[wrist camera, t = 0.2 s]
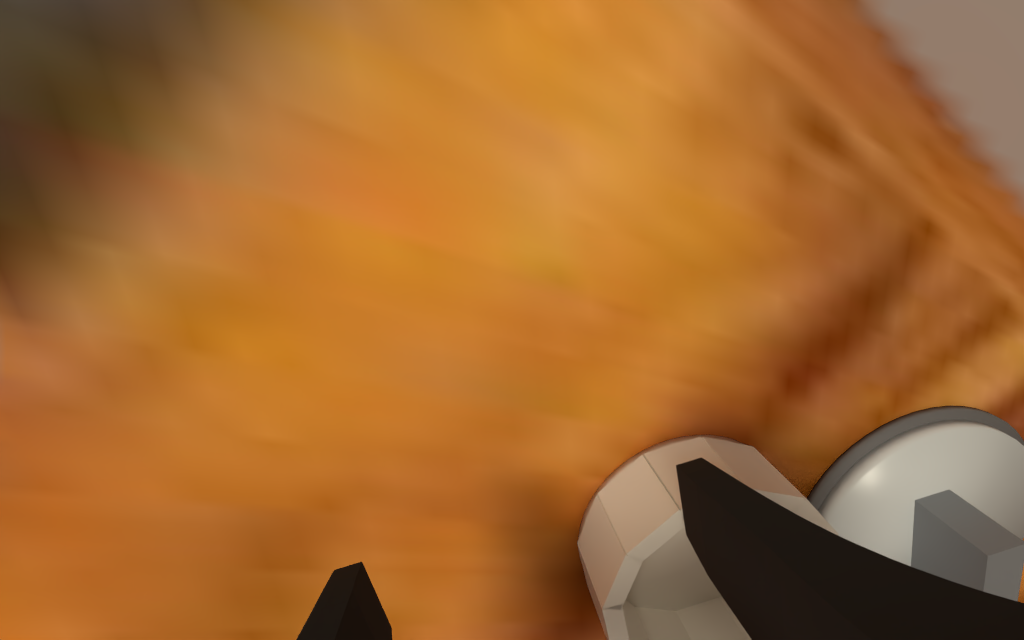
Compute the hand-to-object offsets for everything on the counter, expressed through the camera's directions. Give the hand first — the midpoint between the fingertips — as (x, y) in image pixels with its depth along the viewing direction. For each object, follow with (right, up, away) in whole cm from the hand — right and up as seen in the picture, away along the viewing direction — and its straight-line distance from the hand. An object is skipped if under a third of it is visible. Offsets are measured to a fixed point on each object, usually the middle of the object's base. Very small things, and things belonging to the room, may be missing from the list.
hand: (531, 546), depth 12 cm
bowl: (+8, -5, +14) cm, 16 cm away
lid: (+20, -5, +16) cm, 26 cm away
